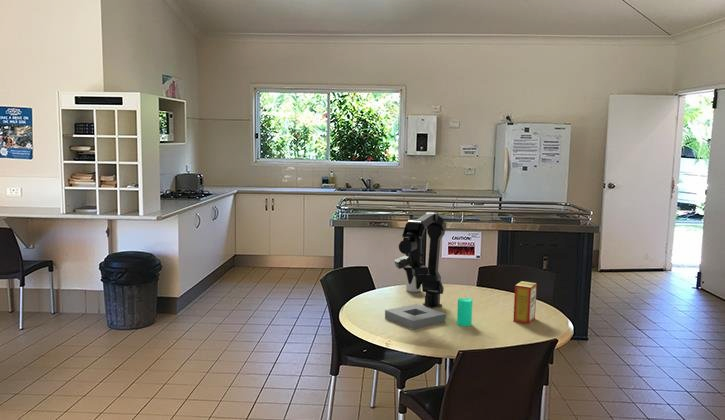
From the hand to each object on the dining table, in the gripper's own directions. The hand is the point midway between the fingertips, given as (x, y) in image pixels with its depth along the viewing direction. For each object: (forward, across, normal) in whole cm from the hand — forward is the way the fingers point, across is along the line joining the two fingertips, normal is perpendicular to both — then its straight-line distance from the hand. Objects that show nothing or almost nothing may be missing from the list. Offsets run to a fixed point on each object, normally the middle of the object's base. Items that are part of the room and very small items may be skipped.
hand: (413, 286), depth 249 cm
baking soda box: (+14, +13, +46) cm, 50 cm away
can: (+14, -44, +17) cm, 49 cm away
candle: (+14, +12, +18) cm, 26 cm away
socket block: (+14, +3, 0) cm, 14 cm away
